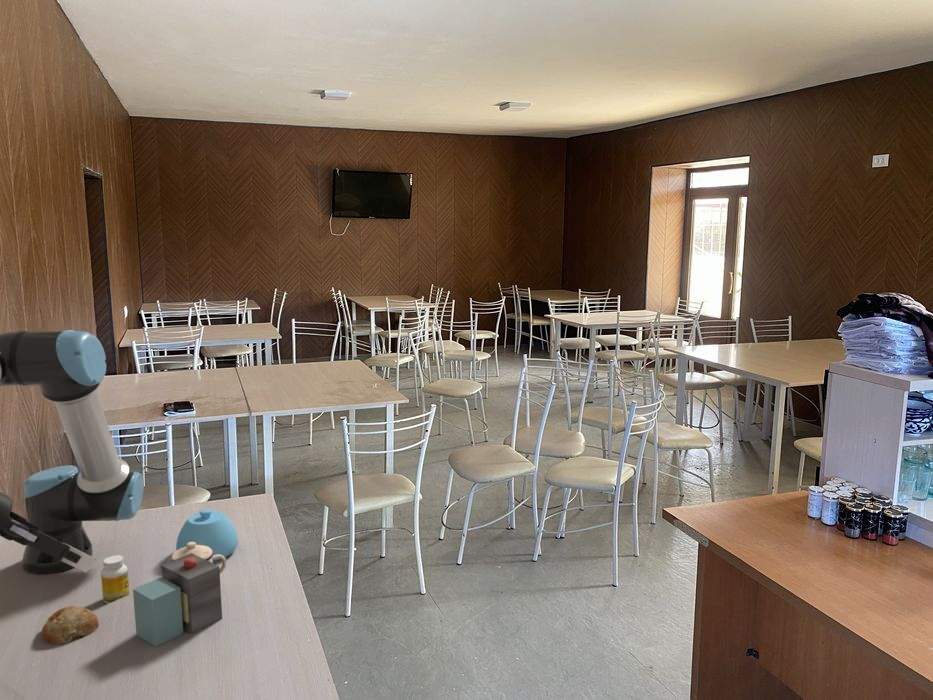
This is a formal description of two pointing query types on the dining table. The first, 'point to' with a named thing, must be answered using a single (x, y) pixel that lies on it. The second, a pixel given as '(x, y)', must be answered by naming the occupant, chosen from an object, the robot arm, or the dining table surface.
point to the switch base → (196, 590)
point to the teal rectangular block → (158, 611)
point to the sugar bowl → (209, 532)
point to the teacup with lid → (199, 553)
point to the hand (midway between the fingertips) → (89, 564)
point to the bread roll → (69, 625)
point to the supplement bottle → (114, 579)
